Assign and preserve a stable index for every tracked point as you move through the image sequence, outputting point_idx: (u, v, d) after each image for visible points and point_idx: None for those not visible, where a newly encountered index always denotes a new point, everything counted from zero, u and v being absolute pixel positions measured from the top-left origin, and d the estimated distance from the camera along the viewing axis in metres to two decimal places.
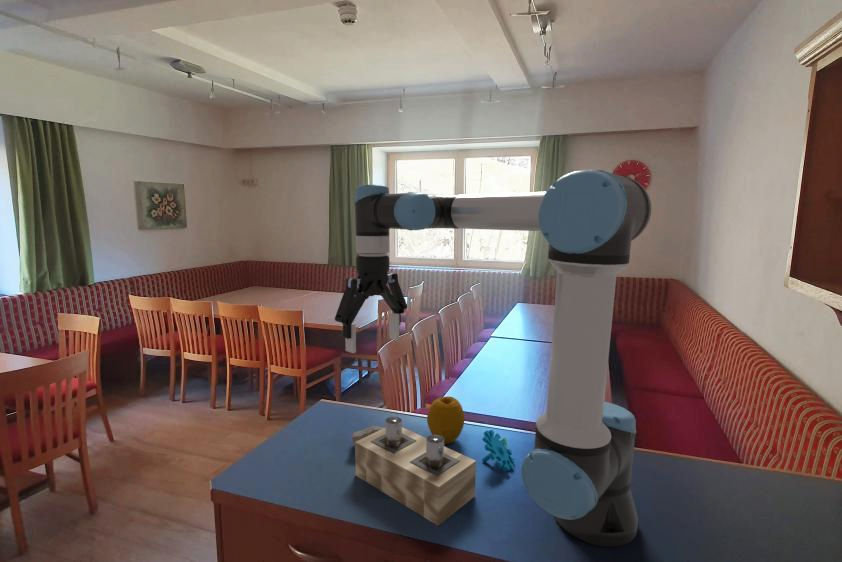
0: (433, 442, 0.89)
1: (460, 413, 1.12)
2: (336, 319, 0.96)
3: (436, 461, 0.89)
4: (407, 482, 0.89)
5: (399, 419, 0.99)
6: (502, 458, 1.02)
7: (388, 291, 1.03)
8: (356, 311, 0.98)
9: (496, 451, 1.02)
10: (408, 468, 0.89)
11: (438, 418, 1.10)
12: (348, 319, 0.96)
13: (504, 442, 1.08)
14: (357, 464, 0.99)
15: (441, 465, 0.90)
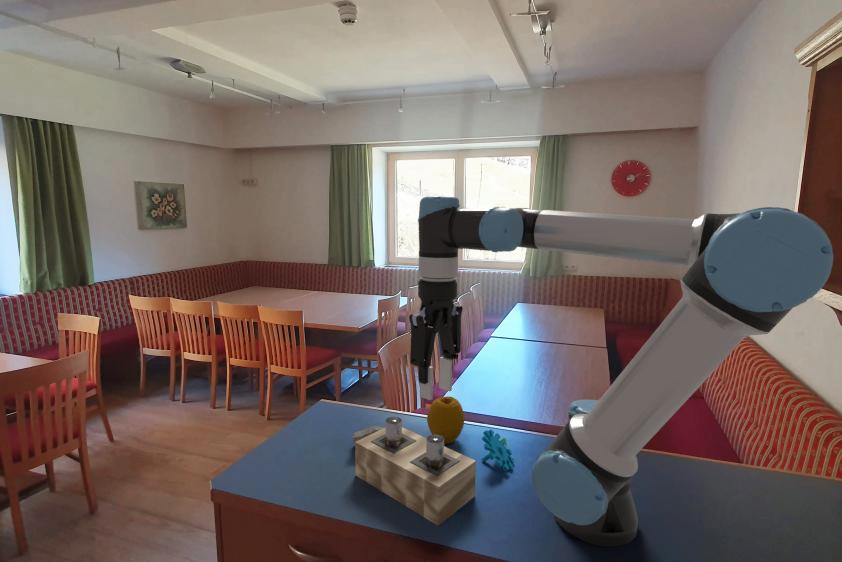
0: (433, 442, 0.89)
1: (460, 413, 1.12)
2: (412, 362, 0.83)
3: (436, 461, 0.89)
4: (407, 482, 0.89)
5: (399, 419, 0.99)
6: (501, 458, 1.02)
7: (450, 325, 0.87)
8: (431, 351, 0.84)
9: (495, 451, 1.02)
10: (408, 468, 0.89)
11: (438, 418, 1.10)
12: (425, 363, 0.84)
13: (504, 442, 1.08)
14: (357, 464, 0.99)
15: (441, 465, 0.90)
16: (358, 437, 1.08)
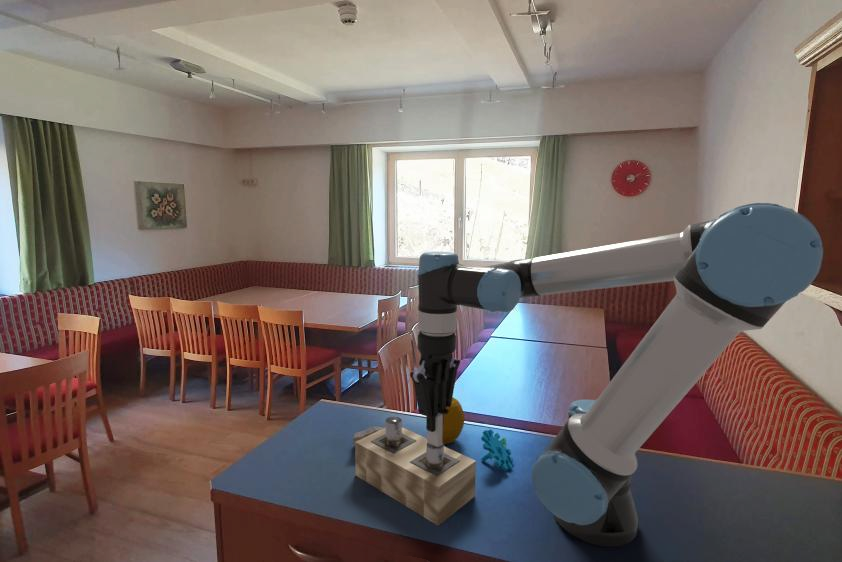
0: (433, 448, 0.89)
1: (460, 413, 1.12)
2: (421, 412, 0.87)
3: (436, 467, 0.89)
4: (407, 482, 0.89)
5: (399, 419, 0.99)
6: (500, 458, 1.02)
7: (446, 377, 0.88)
8: (436, 401, 0.87)
9: (494, 450, 1.02)
10: (408, 468, 0.89)
11: None
12: (432, 414, 0.87)
13: (503, 442, 1.08)
14: (357, 464, 0.99)
15: None
16: (359, 438, 1.07)
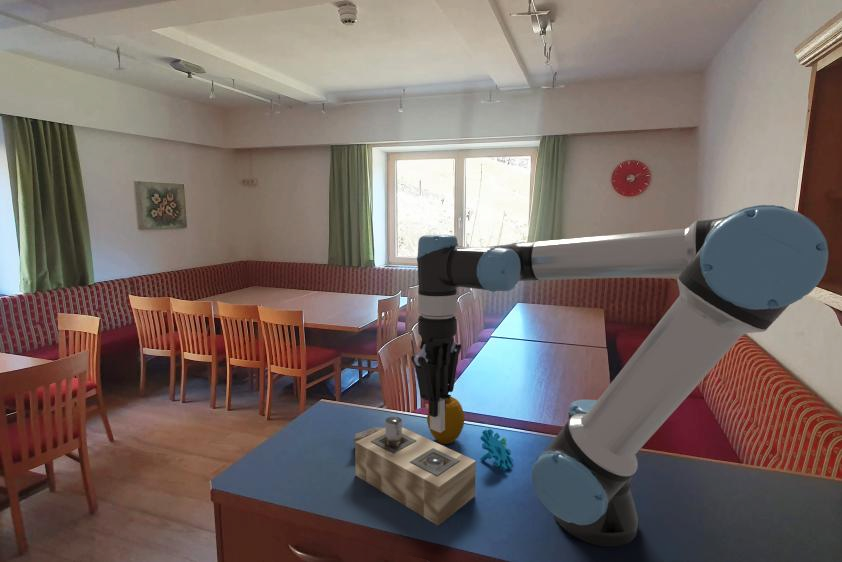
0: (433, 463, 0.90)
1: (460, 413, 1.12)
2: (423, 397, 0.86)
3: None
4: (407, 482, 0.89)
5: (399, 419, 0.99)
6: (500, 457, 1.02)
7: (448, 361, 0.88)
8: (438, 385, 0.87)
9: (494, 450, 1.02)
10: (408, 468, 0.89)
11: None
12: (435, 398, 0.87)
13: (503, 442, 1.08)
14: (357, 464, 0.99)
15: None
16: (360, 438, 1.07)
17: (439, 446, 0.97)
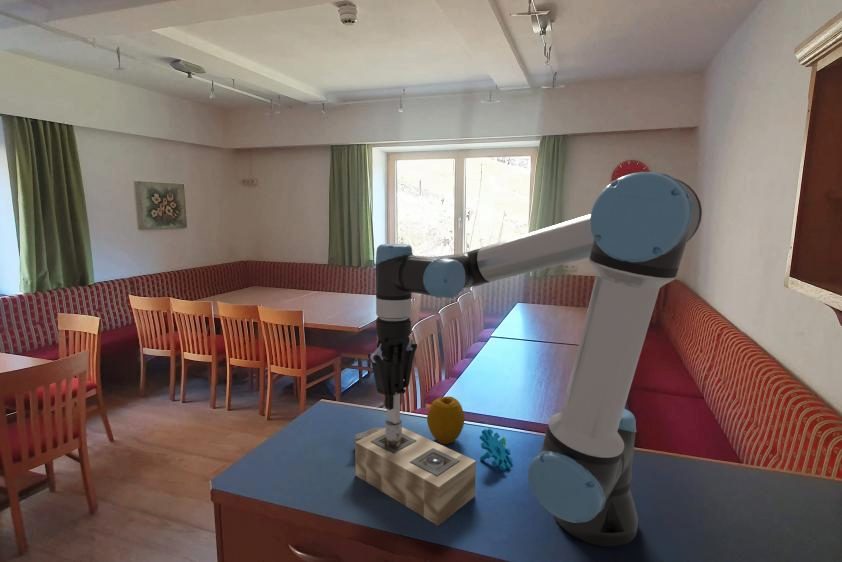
0: (433, 463, 0.90)
1: (460, 413, 1.12)
2: (379, 391, 0.95)
3: None
4: (407, 482, 0.89)
5: None
6: (498, 457, 1.02)
7: (403, 359, 0.96)
8: (393, 381, 0.95)
9: (493, 450, 1.03)
10: (408, 468, 0.89)
11: (438, 418, 1.10)
12: (390, 393, 0.95)
13: (503, 442, 1.08)
14: (357, 464, 0.99)
15: None
16: (361, 438, 1.07)
17: (439, 446, 0.97)
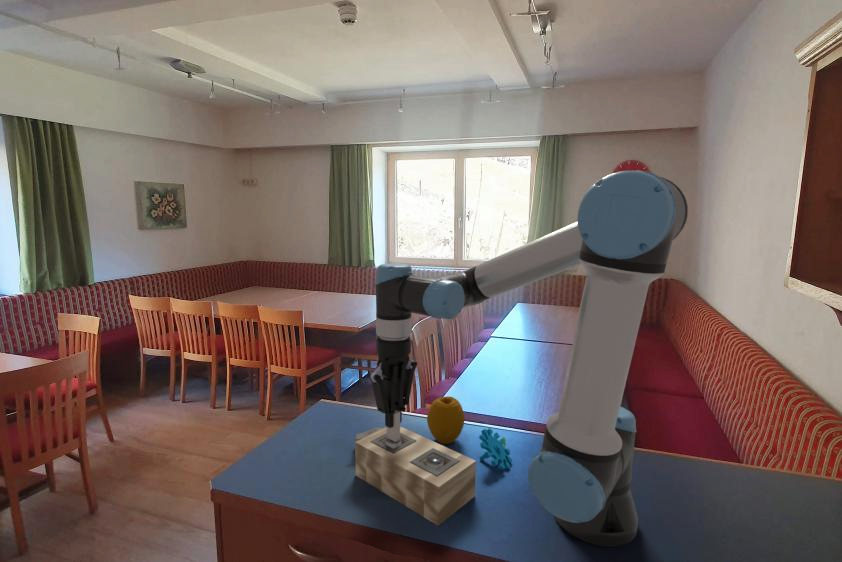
0: (433, 463, 0.90)
1: (460, 413, 1.12)
2: (379, 410, 0.95)
3: None
4: (407, 482, 0.89)
5: None
6: (498, 457, 1.02)
7: (403, 378, 0.97)
8: (393, 399, 0.96)
9: (492, 450, 1.03)
10: (408, 468, 0.89)
11: (438, 418, 1.10)
12: (390, 411, 0.96)
13: (503, 441, 1.08)
14: (357, 464, 0.99)
15: None
16: None
17: (439, 446, 0.97)
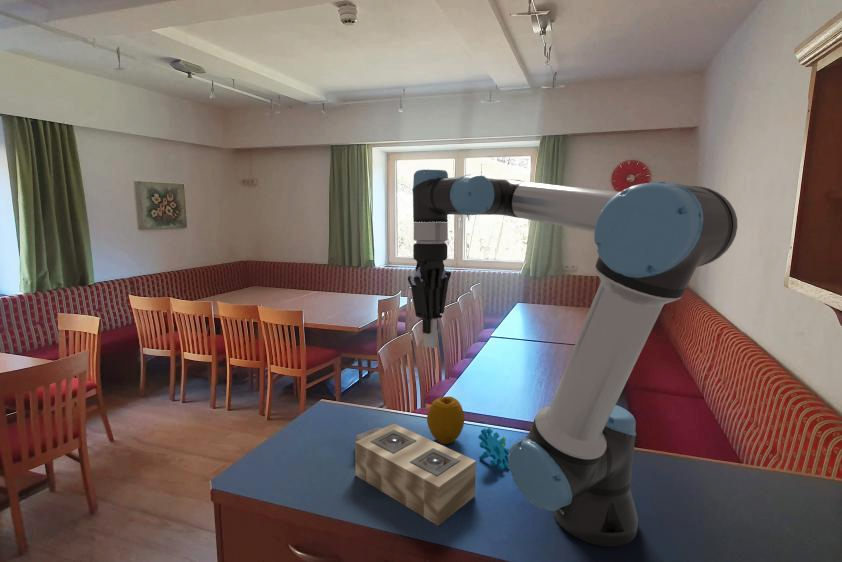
0: (433, 463, 0.90)
1: (460, 413, 1.12)
2: (417, 315, 0.98)
3: None
4: (407, 482, 0.89)
5: (399, 438, 0.99)
6: (497, 457, 1.02)
7: (439, 284, 0.99)
8: (431, 305, 0.98)
9: (491, 449, 1.03)
10: (408, 468, 0.89)
11: (438, 418, 1.10)
12: (428, 316, 0.98)
13: (502, 441, 1.08)
14: (357, 464, 0.99)
15: None
16: None
17: (439, 446, 0.97)
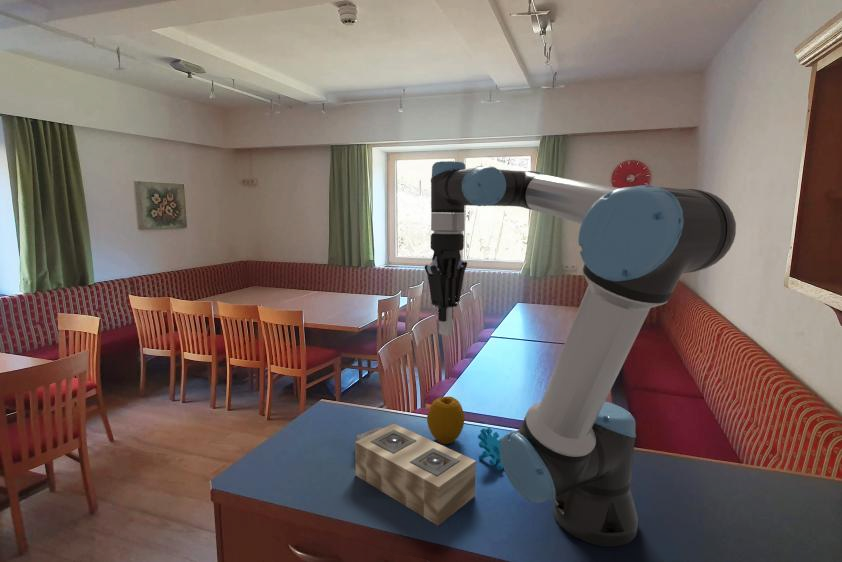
0: (433, 463, 0.90)
1: (460, 413, 1.12)
2: (433, 303, 1.00)
3: None
4: (407, 482, 0.89)
5: (399, 438, 0.99)
6: (496, 456, 1.02)
7: (455, 274, 1.02)
8: (447, 293, 1.01)
9: (490, 449, 1.03)
10: (408, 468, 0.89)
11: (438, 418, 1.10)
12: (444, 304, 1.01)
13: None
14: (357, 464, 0.99)
15: None
16: None
17: (439, 446, 0.97)
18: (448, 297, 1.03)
